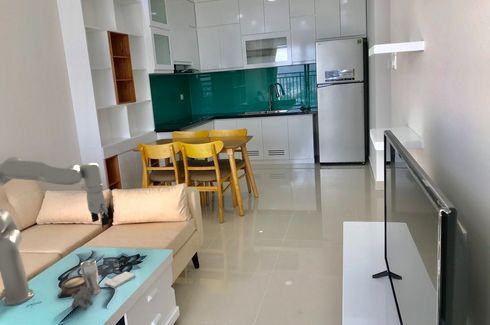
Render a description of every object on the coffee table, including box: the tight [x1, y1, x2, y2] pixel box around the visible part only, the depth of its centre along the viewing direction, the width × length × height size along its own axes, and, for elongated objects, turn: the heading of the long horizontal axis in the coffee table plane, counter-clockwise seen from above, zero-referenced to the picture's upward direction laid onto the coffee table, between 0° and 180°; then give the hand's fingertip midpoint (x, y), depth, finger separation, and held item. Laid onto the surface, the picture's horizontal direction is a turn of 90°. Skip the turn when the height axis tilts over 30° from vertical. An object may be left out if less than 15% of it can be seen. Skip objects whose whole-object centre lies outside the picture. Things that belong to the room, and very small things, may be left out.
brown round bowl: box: [60, 274, 86, 296], centre depth 193 cm, size 13×13×4 cm
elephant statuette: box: [71, 286, 95, 311], centre depth 178 cm, size 9×12×8 cm
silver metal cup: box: [80, 259, 101, 297], centre depth 186 cm, size 7×7×15 cm
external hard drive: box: [104, 271, 137, 289], centre depth 197 cm, size 2×8×12 cm
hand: (100, 222), depth 196 cm, fingers open, 9 cm apart
